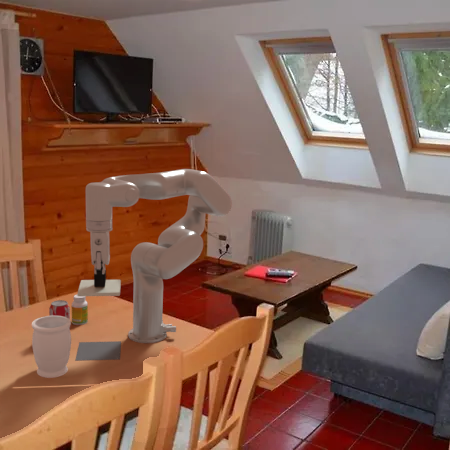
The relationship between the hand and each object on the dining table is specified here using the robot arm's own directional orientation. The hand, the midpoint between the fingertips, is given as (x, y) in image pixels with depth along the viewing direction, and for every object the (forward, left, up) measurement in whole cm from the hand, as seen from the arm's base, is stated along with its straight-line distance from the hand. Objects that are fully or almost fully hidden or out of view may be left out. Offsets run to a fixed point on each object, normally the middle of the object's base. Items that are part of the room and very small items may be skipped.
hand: (100, 284), depth 168 cm
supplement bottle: (+8, -24, -22) cm, 33 cm away
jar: (+12, +13, -22) cm, 28 cm away
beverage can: (+13, -11, -22) cm, 28 cm away
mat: (0, 0, -22) cm, 22 cm away
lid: (0, 0, -2) cm, 2 cm away
